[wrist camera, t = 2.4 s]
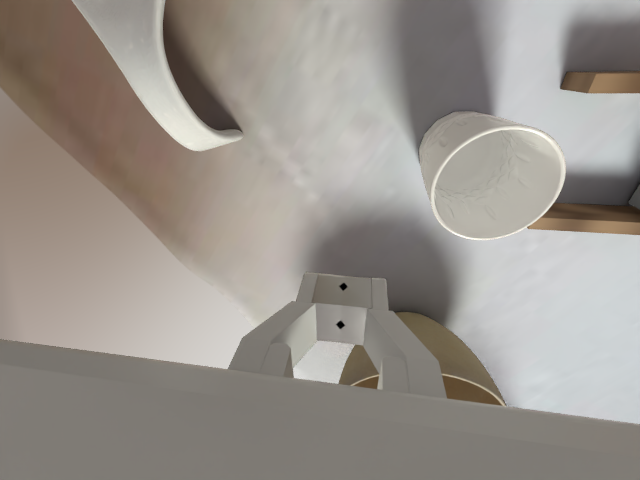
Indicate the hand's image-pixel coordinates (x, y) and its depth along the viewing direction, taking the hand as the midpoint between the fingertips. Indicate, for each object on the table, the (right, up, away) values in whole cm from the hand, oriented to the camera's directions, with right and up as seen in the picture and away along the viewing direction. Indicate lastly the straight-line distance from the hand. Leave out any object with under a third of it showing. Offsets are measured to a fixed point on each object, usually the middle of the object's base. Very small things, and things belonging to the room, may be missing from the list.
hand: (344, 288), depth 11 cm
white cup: (+12, +11, +16) cm, 23 cm away
